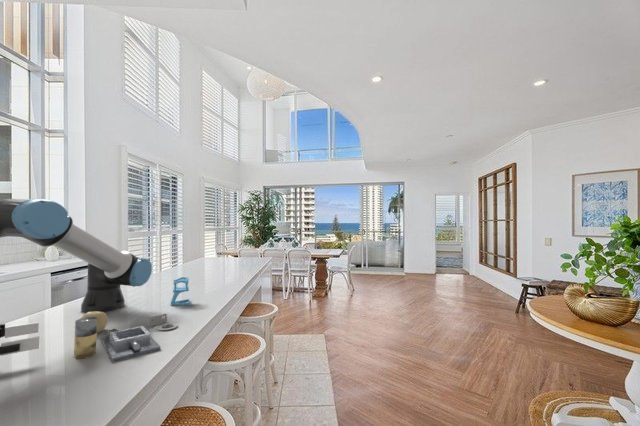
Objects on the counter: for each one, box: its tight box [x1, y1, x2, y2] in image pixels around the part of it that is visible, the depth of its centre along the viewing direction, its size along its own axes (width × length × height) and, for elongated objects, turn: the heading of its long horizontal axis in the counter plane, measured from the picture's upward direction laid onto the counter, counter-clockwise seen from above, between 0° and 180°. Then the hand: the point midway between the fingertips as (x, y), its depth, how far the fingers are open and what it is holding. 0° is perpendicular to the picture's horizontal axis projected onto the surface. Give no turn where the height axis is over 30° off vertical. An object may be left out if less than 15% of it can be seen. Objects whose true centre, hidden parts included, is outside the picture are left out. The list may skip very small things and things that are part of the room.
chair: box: [169, 276, 191, 306], centre depth 138 cm, size 8×8×12 cm
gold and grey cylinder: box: [73, 317, 98, 360], centre depth 86 cm, size 5×5×10 cm
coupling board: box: [100, 325, 161, 363], centre depth 94 cm, size 20×12×4 cm, turn 44°
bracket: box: [148, 313, 178, 331], centre depth 109 cm, size 7×10×4 cm, turn 57°
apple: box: [80, 311, 108, 334], centre depth 103 cm, size 8×8×8 cm
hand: (39, 334), depth 79 cm, fingers open, 13 cm apart
